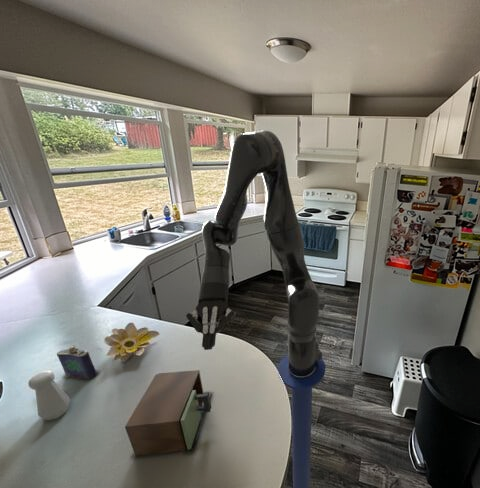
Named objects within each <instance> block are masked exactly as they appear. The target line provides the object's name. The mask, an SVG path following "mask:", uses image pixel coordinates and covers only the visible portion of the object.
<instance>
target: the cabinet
mask: <svg viewBox="0 0 480 488" xmlns="http://www.w3.org/2000/svg"><path fill="white" fill-rule="evenodd" d="M201 377H202V376H201V373H200V369H194V370H193V369H192V370H182V371H169V372H158V373H157V372H156V373H155V375H154V376H153V378H152V380H151V381H150V383H149V385H148V387H147V388H146V390H145V392H144V393H143V394H142V397H141V399H140V400H139V402H138V403H137V405H136V407H135V408H134V411H133V412H132V414H131V416H130V417H129V419H128V421H127V422H126V423H125V425H124V428H125V432H126V434H127V437H128V440H129V442H130V445H131V448H132V451H133V453H134V456H135V457H136V456H145V455H153V454H160V453H161V454H162V453H171V452H176V451H177V452H178V451H185V452H192V451H194V450H195V449H196V448H195V447H196V444H197V442H198V438H199V434H200V431H201V428H202V425H203V422H204V419H205V416H206V413H207V412H205V411H200V414H201V420H200V423H199V426H198V429H197V432H196V435H195V438H194V441H193V444H192V447H191V449H187V445H186V441H185V437H184V433H183V429H182V425H181V418H182V416H183V413H184V411H185V408H186V406H187V403H188V401H189V398H190V396H191V393H192V391H193V390H196V394H197V395H198V394H203V393H204V388H203V384H202V378H201ZM209 397H210V398H211V397H212V393H211V392H209ZM198 404H199V406H204V403H203V399H198Z"/></svg>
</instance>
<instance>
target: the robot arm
mask: <svg viewBox="0 0 480 488" xmlns="http://www.w3.org/2000/svg"><path fill="white" fill-rule="evenodd" d="M231 146H232V147H231V151H230V154H229V155H230V156H229V161H228V162H229V163H228V168H227V173H226V180H225V185H224V190H223V192H222V193H223V194H222V195H221V199H220V201H219V204H218V206H217V209H216V211H215V214H214V219H215V220H207V221H206V222H204V223H203V225H202V228H201V237H202V242H203V248H204V262H203V270H202V272H201V278H200V286H199V293H198V301H197V302H198V303H197V305H196V306H195V309H194V310H193V311H192V312H187V314H185V315H186V316H185V317H186V319H187V320H188V321H189V324H191V326H192V327H193V329H194V330H195V331H196V332H197V333H200V334H202V342H201V347H202V348H203V350H205V351H208V350H209V351H210V350H213V348H214V347H215V346H216V337H217V334H218V333H220V332H223V331H224V330H225V329H226V328H227V327H228V326H229V324H230V323H231V322H232V321H233V319H234V318H235V317H236V315H237V313H236V312H235V311H234V310H233V309H230V305H229V303H228V300H229V289H230V282H231V281H230V267H231V265H230V264H231V253H230V252H229V251H228V250H226V249H224V248H221V247H220V246H226V247H230V246H233V245H235V244H236V243H237V242H238V237H239V227H240V222H241V220H242V218H243V216H244V214H245V211H246V209H247V207H248V193H247V192H248V189H249V187H250V186H251V183H252V182H253V180H254V179H255V178H256V176H257V175H259V174H261V175H262V179H263V183H264V186H265V187H264V188H265V204H264V211H263V213H264V214H263V226H264V230H265V234H266V236H267V240H268V243H269V245H270V247H271V250H272V252H273V254H274V256H275V258H276V260H277V261H278V263H279V265H280V268H281V270H282V275H283V279H284V285H285V293H286V299H287V309H288V310H287V311H288V318H287V354H288V362H289V364H288V370H289V372H290V374H291V375H292V376H294V377H296V378H307V377H309V376H311V375H312V374H313V373H314V371H315V369H316V367H318V361H319V360H321V359H323V352H322V351H321V350H320V349H319V344H318V342H317V327H318V326H317V325H318V322H319V316H320V315H319V314H320V296H319V293H318V290H317V287H316V286H315V283H314V281H313V280H312V277H311V275H310V271H309V269H308V267H307V263H306V260H305V248H304V247H305V246H304V240H303V239H304V238H303V233H302V230H301V226H300V223H299V219H298V216H297V212H296V209H295V204H294V200H293V196H292V192H291V188H290V184H289V176H288V171H287V163H286V157H285V152H284V148H283V145H282V142H281V140H280V139H279V137H278V136H277V135H276V134H275V133H274V132H272V131H270V130H267V129H266V130H265V129H264V130H258V131H249V132H244V133H241V134H239V135H238V136H237V137H236V138H235V139H234V141H233V143H232V145H231ZM218 245H219V246H218ZM224 316H225V317H224ZM199 317H200V320H201V321H202V325H201V323H200V321H199V320H198V318H199ZM223 317H224V319H222V318H223ZM221 319H222V321H221V322H220V320H221Z"/></svg>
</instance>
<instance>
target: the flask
mask: <svg viewBox="0 0 480 488" xmlns="http://www.w3.org/2000/svg"><path fill="white" fill-rule="evenodd" d="M56 356H57V358H58V361H59V362H60V365H61V367H62V370H63V373H64V374H65V377H68V378H77V379H79V378H81V379H86V380H90V379H94V378H95V377H96V376H98V372H97V370H96V368H95V365H94V363H93V360H92V358H91V356H90V353H89V351H87V350H84V349H80V348H77V345H76V344H74V345H72V346H70V347H69V348H64V349H61V350H59V351H57V353H56Z"/></svg>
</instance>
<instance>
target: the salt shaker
mask: <svg viewBox="0 0 480 488" xmlns="http://www.w3.org/2000/svg"><path fill="white" fill-rule="evenodd" d="M27 383H28V387H29V389H30V390H31V389H32V390H33V391H34V392H35V399H36V407H37V408H36V409H37V415H38V417H40V418H41V419H43V420H47V421H51V420H55V419H59V418H60V417H61V416H63V415H64V414H66V413H67V411H68V408H69V405H70V402H71V401H70V400H71V399H70V396H69V395H68V394H67V393H66V392H65V391H64V390H63V389H62V387H60V386H59V385H58V383H57V382H56V381H55V372H54V371H52V370H43V371H39V372H38V373H36V374H34V375H33V376H32V377H31V378H30V379H29V380H28V382H27Z"/></svg>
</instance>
